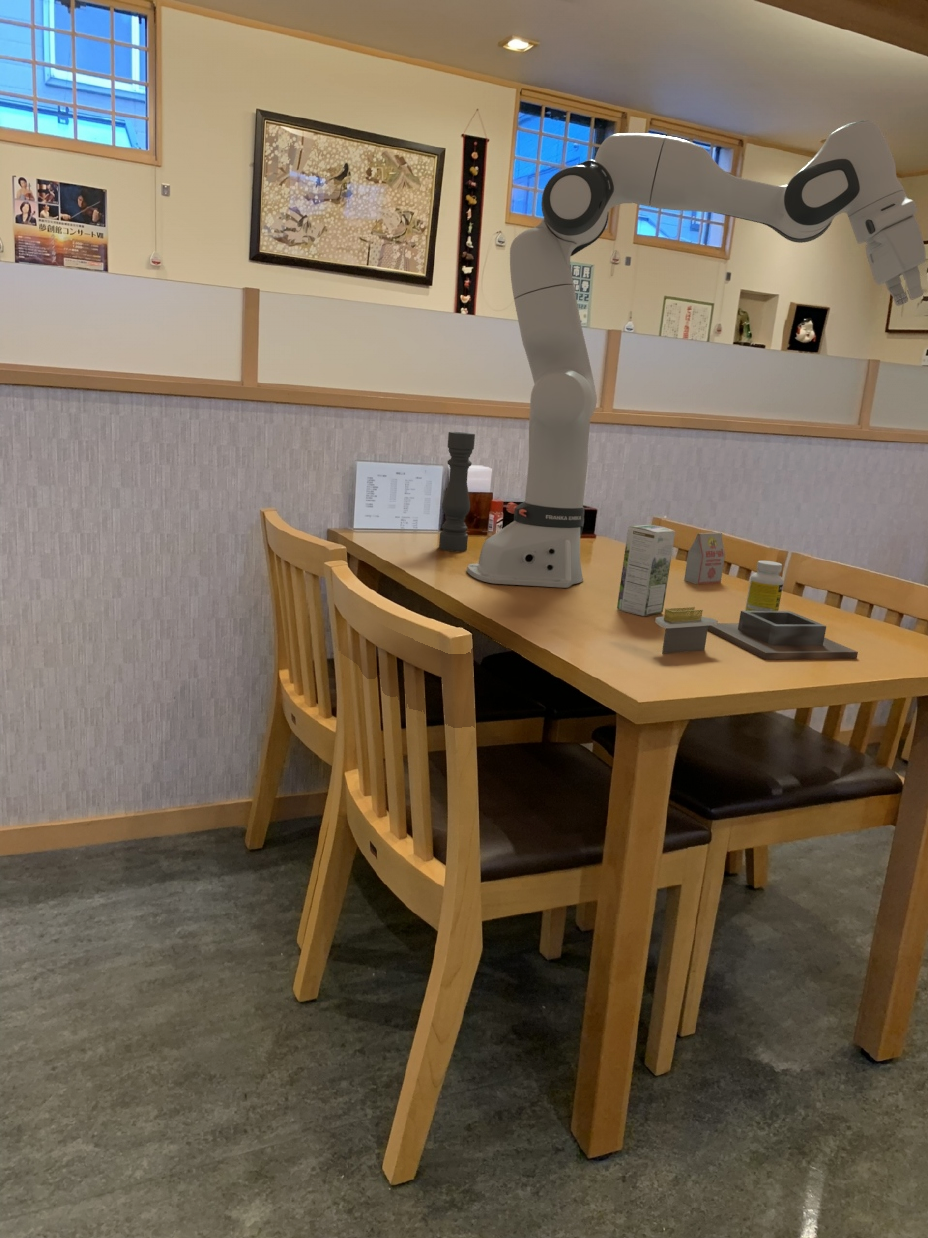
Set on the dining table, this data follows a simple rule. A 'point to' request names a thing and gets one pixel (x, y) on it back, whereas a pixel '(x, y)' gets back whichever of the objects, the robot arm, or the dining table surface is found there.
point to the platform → (684, 629)
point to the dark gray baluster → (457, 493)
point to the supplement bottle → (765, 587)
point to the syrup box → (645, 569)
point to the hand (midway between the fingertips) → (909, 301)
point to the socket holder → (781, 636)
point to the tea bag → (705, 559)
